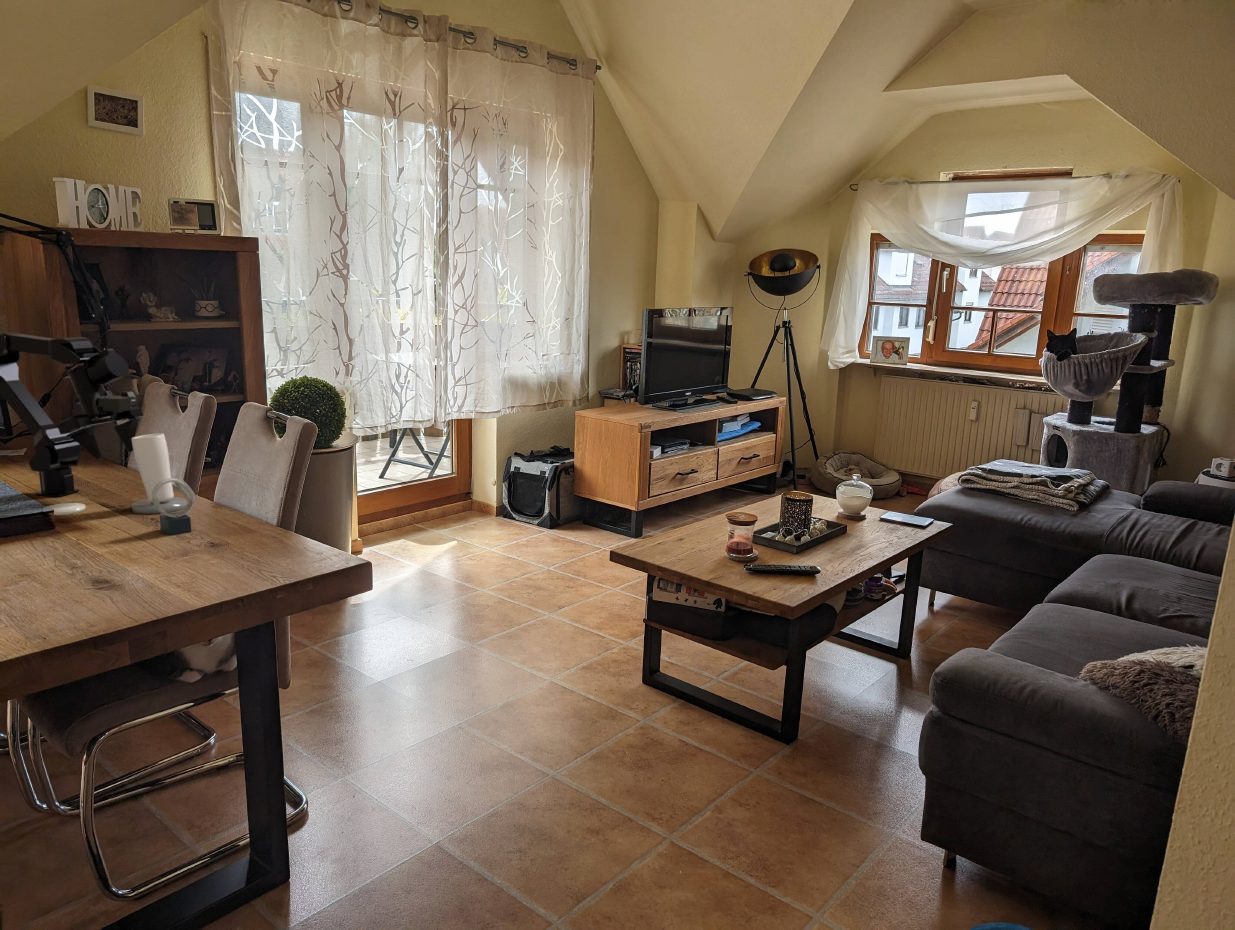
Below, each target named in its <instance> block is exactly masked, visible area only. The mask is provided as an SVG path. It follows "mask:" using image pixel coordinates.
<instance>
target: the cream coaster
mask: <svg viewBox="0 0 1235 930" xmlns="http://www.w3.org/2000/svg"><path fill="white" fill-rule="evenodd" d="M46 507H50V508H52V509H54V515H53V516H55V515H56V516H67V515H75V514H78V513H82V512H84V511H86V508H87V507H86V504H84V503H80V502H63V503H56V504H50V505H47V506H46Z"/></svg>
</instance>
